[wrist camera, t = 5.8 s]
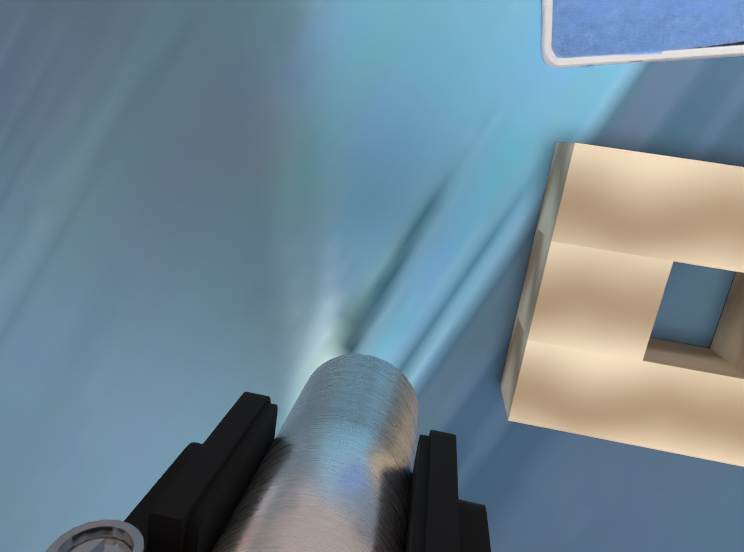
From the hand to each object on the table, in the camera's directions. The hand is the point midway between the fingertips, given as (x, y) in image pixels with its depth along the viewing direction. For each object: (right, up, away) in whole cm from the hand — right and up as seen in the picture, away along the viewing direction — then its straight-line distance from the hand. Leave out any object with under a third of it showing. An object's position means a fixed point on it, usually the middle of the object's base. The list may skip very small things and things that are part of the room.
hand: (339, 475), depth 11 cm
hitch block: (+17, +3, +17) cm, 24 cm away
